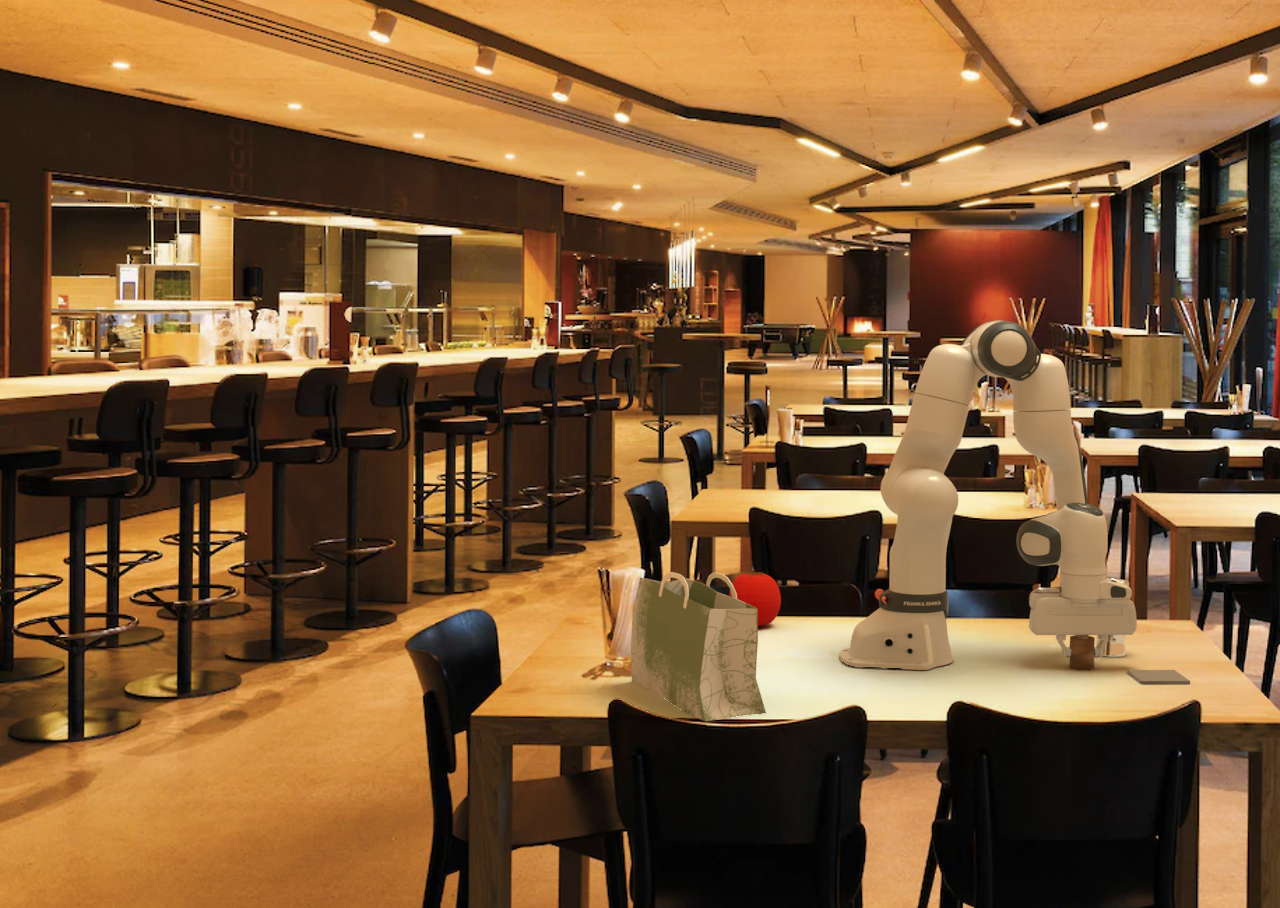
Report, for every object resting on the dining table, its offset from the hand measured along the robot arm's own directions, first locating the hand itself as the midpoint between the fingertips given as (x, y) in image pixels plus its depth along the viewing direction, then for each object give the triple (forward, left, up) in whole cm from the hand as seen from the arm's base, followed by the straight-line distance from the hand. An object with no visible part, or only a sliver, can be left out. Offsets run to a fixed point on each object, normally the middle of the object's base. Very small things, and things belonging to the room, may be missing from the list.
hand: (1081, 657), depth 295 cm
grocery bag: (-75, -22, -2) cm, 79 cm away
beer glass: (+9, +12, -2) cm, 15 cm away
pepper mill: (0, 0, -2) cm, 2 cm away
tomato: (-62, +41, -2) cm, 74 cm away
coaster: (+12, -9, -2) cm, 15 cm away
